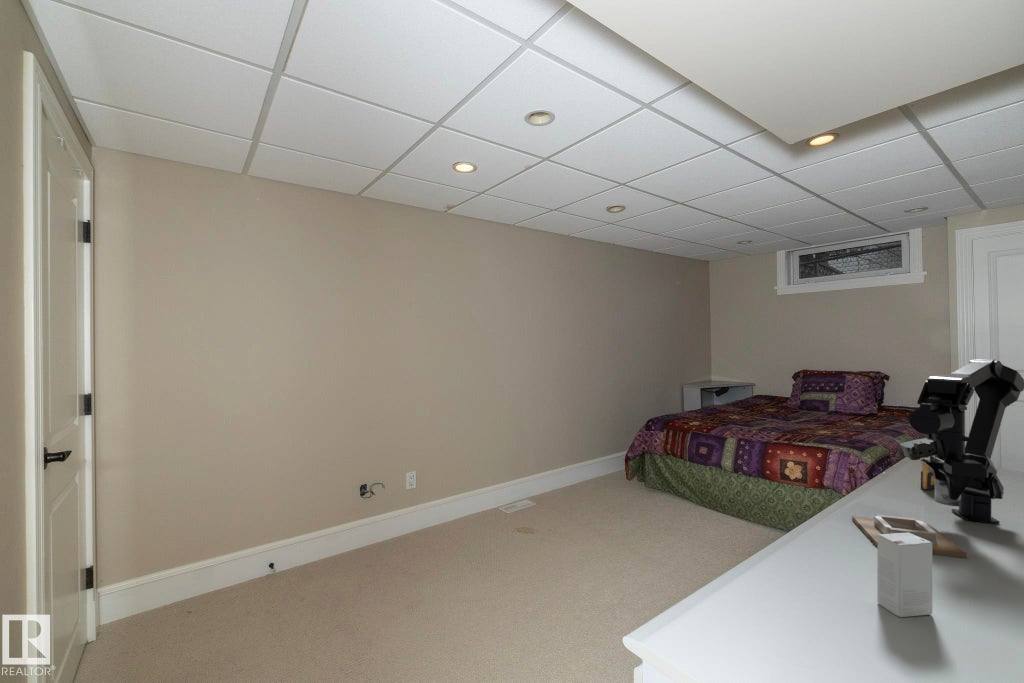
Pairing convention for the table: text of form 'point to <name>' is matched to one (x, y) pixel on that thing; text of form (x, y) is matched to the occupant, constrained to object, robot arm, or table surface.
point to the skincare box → (904, 574)
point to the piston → (944, 494)
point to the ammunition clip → (927, 477)
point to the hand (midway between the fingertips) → (947, 496)
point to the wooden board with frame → (907, 525)
